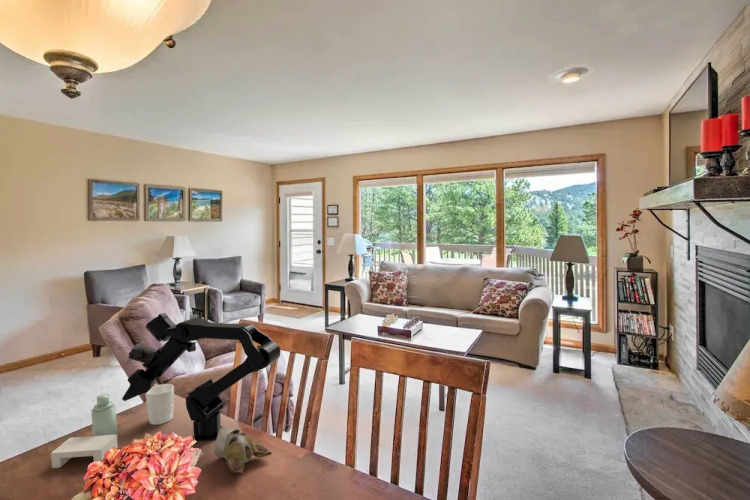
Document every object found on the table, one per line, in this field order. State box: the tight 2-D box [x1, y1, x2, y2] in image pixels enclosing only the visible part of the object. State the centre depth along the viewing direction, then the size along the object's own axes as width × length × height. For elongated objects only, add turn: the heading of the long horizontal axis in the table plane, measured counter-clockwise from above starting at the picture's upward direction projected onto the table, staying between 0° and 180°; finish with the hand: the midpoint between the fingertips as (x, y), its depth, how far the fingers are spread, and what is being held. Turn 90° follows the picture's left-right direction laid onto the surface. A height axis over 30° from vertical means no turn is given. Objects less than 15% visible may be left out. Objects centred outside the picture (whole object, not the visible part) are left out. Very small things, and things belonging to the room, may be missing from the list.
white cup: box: [144, 383, 175, 426], centre depth 119 cm, size 8×8×10 cm
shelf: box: [50, 434, 119, 469], centre depth 100 cm, size 12×7×4 cm, turn 96°
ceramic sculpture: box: [213, 427, 273, 476], centre depth 97 cm, size 11×9×15 cm
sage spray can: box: [91, 393, 118, 436], centre depth 108 cm, size 6×6×13 cm
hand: (130, 392), depth 109 cm, fingers open, 9 cm apart
